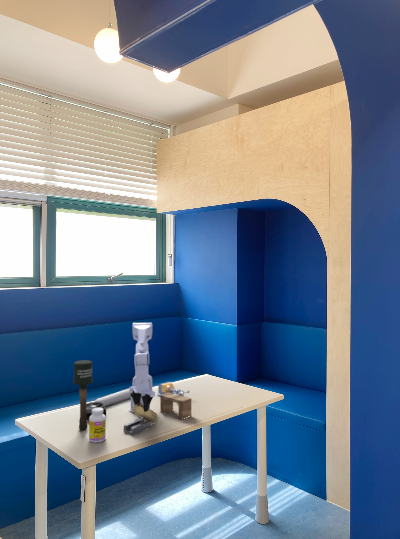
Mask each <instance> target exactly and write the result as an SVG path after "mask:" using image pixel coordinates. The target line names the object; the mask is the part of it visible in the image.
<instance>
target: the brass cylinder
mask: <svg viewBox="0 0 400 539" xmlns="http://www.w3.org/2000/svg"><path fill="white" fill-rule="evenodd" d="M152 410H153V409H151V408H150V409H149V410H148V411H147V412H144V406H143V404H141V403H137V404H136V405H135V406H134V408H133V412H134V413H133V412H132V413H133V414H135V415H136V416H138V417H140V419H141V418H143V419H144V421H145V422H146V421H148V420H150V421H151V424H155V423H156V422H157V420H158V416H159V415H158V413H157V412H155V411H152Z"/></svg>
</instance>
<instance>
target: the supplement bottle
mask: <svg viewBox="0 0 400 539" xmlns="http://www.w3.org/2000/svg"><path fill="white" fill-rule="evenodd" d="M106 419H107V416H105V415H104V414H103V408H93V409H92V415H91V416H90V418H89V421H88V423H89V424H88V431H89V432H88V438H89V439H88V440H89V442H90V443H94V444H97V443H102V442H104V441H105V440H106V429H107V426H106V425H107V423H106V421H107V420H106Z"/></svg>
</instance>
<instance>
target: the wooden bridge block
mask: <svg viewBox="0 0 400 539" xmlns="http://www.w3.org/2000/svg"><path fill="white" fill-rule="evenodd" d="M159 401H160V408H159V409H160V410H159V412H160V413H162V414H164V413H166V414H167V412H168V413H171V412H172V410H173V411H174V403H176V404H178V419H180V418H183V419H182V420H185V419H187V418H186V417H188V416H190V415H191V416H192V397H189V396H188V397H187V396H185V395H184V396H180V395H177V394H173V393H166V394H163V395H160V400H159ZM170 411H171V412H170ZM191 416H190V417H191ZM184 418H185V419H184ZM188 418H189V417H188Z"/></svg>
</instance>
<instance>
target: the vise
mask: <svg viewBox="0 0 400 539" xmlns="http://www.w3.org/2000/svg"><path fill="white" fill-rule="evenodd" d="M157 387H158V388H157V389H158V393H157V396H156V397H160V395H163V394H166V393H173V394H177V395H180V396H184V397H185V394H190V393H191V392H190V390H186V391H184V390H182V389H177V388H175V386H174V384H173V382H171V381H166V382H164V383H163V382H162V383H159V384H158V386H157Z"/></svg>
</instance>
